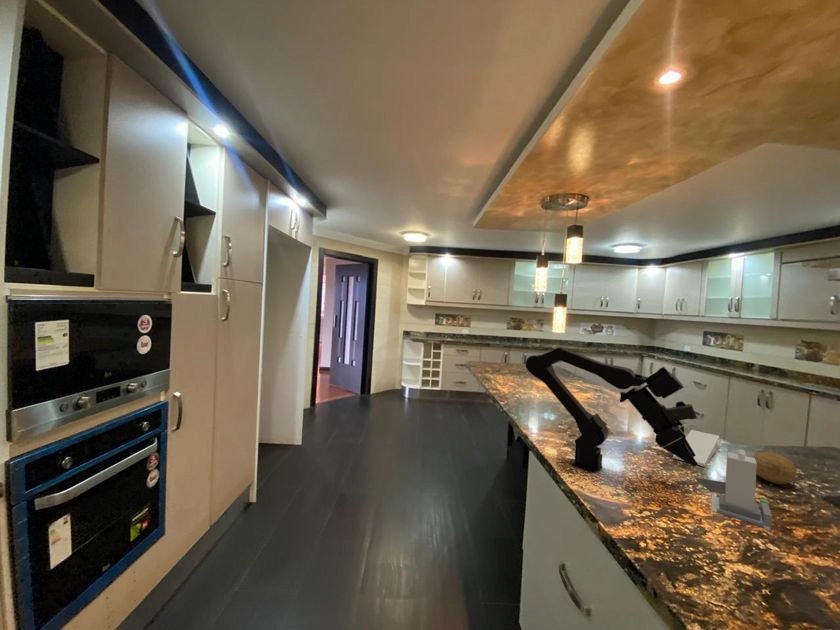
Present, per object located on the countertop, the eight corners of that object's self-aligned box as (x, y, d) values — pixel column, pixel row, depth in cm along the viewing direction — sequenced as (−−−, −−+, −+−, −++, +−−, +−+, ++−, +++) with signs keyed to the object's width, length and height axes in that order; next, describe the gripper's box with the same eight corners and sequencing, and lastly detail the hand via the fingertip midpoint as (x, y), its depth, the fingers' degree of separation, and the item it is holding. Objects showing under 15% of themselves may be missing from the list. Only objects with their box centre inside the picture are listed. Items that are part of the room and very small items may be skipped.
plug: (719, 509, 85) (722, 450, 85) (719, 499, 90) (722, 444, 90) (760, 521, 80) (763, 459, 80) (757, 509, 85) (760, 452, 86)
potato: (790, 479, 107) (791, 452, 107) (801, 495, 96) (803, 466, 96) (746, 468, 113) (748, 443, 113) (752, 483, 102) (754, 455, 102)
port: (711, 512, 84) (712, 497, 84) (711, 496, 92) (712, 483, 92) (771, 530, 77) (772, 515, 77) (765, 511, 86) (766, 497, 86)
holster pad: (710, 492, 94) (710, 491, 94) (694, 478, 103) (694, 477, 103) (751, 499, 92) (751, 498, 92) (731, 484, 101) (731, 483, 101)
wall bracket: (703, 486, 112) (718, 455, 131) (711, 466, 110) (725, 438, 129) (666, 468, 119) (685, 441, 137) (673, 449, 117) (692, 424, 136)
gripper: (677, 394, 87) (731, 454, 80) (676, 388, 102) (722, 438, 95) (636, 418, 91) (684, 476, 85) (641, 409, 106) (682, 457, 100)
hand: (694, 460), depth 91 cm, fingers open, 9 cm apart
